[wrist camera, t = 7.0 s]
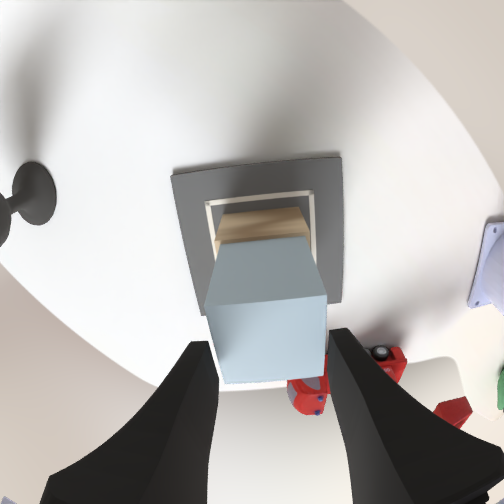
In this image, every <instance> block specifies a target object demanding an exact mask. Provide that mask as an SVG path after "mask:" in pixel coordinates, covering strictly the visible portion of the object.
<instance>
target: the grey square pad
mask: <svg viewBox="0 0 504 504" xmlns="http://www.w3.org/2000/svg"><path fill="white" fill-rule="evenodd" d="M170 178H171V183H172V188H173V194H174V199H175V204H176V209H177V214H178V219H179V224H180V228H181V233H182V238H183V242H184V247H185V251H186V255H187V260H188V264H189V268H190V273H191V277H192V281H193V285H194V289H195V293H196V297H197V301H198V305H199V309H200V313H201V316H206V313H205V309H204V304H205V300H206V296H207V293H208V289H209V285H210V281H211V277H212V273H213V269H214V265H215V262H216V258H217V254H216V249H215V243H214V240H215V237H216V234H217V231H218V228H219V225H220V221H221V218H222V215H223V214H231V213H240V212H249V211H259V210H269V209H279V208H289V207H299V209H300V211H301V213H302V215H303V217H304V220H305V222H306V224H307V226H308V228H309V231H310V248H311V253H312V255H313V258H314V261H315V263H316V266H317V269H318V271H319V274H320V277H321V279H322V282H323V285H324V288H325V290H326V293H327V304H334V303H341V300H342V278H343V177H342V158H341V157H329V158H312V159H298V160H286V161H275V162H265V163H255V164H246V165H238V166H230V167H222V168H215V169H208V170H201V171H194V172H188V173H182V174H176V175H171V176H170Z"/></svg>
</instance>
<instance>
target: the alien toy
mask: <svg viewBox="0 0 504 504" xmlns="http://www.w3.org/2000/svg"><path fill="white" fill-rule="evenodd" d="M497 390H498V405H497V407H498V409H499V410H503V412H504V370H503V371H502V373H501V375H500V377H499V380H498V385H497Z"/></svg>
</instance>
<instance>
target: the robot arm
mask: <svg viewBox="0 0 504 504" xmlns="http://www.w3.org/2000/svg"><path fill="white" fill-rule="evenodd" d="M490 303H492V304H493V305H494V306H495V307H496V308H497V309H498V310H499V311H500V312H501V313H502V315H503V316H504V222H495V223H488V224H487V225H486V227H485V232H484V238H483V243H482V249H481V253H480V258H479V263H478V267H477V271H476V275H475V279H474V283H473V287H472V291H471V294H470V298H469V301H468V307H469V308H470V309H472V308H476V307H480V306H483V305H487V304H490ZM327 375H328V381H329V387H330V393H331V397H332V401H333V404H334V407H335V411H336V414H337V418H338V422H339V425H340V429H341V432H342V436H343V440H344V443H345V447H346V452H347V457H348V464H349V471H350V479H351V489H352V498H353V504H486V503H485V502H487V501H488V500H489V496H488V493H487V491H488V490H490V489H491V488H492V487H494V486H495V485H496V484H498V483H499V482H500V481H502V480H503V479H504V453H503V451H502V449H501V448H500V447H499V446H496V445H494V444H491V443H488V442H486V441H484V440H481V439H478V438H476V437H474V436H472V435H470V434H468V433H466V432H464V431H462V430H460V429H458V428H457V427H455V426H453V425H452V424H450V423H449V422H447V421H445V420H444V419H442V418H440V417H439V416H437V415H436V414H434V413H433V412H431V411H430V410H429V409H427V408H426V407H425V406H423V405H422V404H421V403H419V402H418V401H417V400H416V399H414V398H413V397H412V396H411V395H409V394H408V393H407V392H406V391H405V390H404V389H403V388H402V387H401V386H399V385H398V384H397V383H396V382H395V381H394V380H393V379H392V378H391V377H390V376H389V375H388V374H387V373H386V372H385V371H384V370H383V369H382V368H381V366H380V365H379V364H378V363H377V362H376V361H375V360H374V359H373V358H372V357H371V356H370V354H369V353H368V352H367V351H366V350H365V349H364V347H363V346H362V345H361V344H360V343H359V341H358V340H357V339H356V338H355V336H354V335H353V334H352V333H351V331H350V330H349V329H348V328H341V329H333V330H329V343H328V359H327ZM218 394H219V377H218V374H217V370H216V367H215V364H214V360H213V357H212V353H211V350H210V346H209V343H208V341H191V342H190V343H189V344H188V346H187V347H186V349H185V350H184V352H183V353H182V355H181V356H180V358H179V359H178V361H177V362H176V364H175V365H174V367H173V368H172V369H171V371H170V372H169V374H168V375H167V376H166V378H165V379H164V380H163V382H162V383H161V384H160V386H159V387H158V388H157V390H156V391H155V392H154V393H153V395H152V396H151V397H150V398H149V399H148V401H147V402H146V403H145V404H144V405H143V407H142V408H141V409H140V410H139V411H138V412H137V413H136V414H135V415H134V416H133V418H131V419H130V420H129V421H128V422H127V423H126V424H125V425H124V426H123V427H122V428H121V429H120V430H119V431H118V432H116V433H115V434H114V435H113V436H112V437H111V438H110V439H108V440H107V441H106V442H105V443H103V444H102V445H101V446H99V447H98V448H97V449H95V450H94V451H92V452H91V453H89V454H88V455H87V456H85V457H84V458H82V459H81V460H79V461H77V462H76V463H74V464H72V465H70V466H68V467H67V468H65V469H63V470H61V471H59V472H57V473H55V474H53V475H50V476H49V479H48V481H47V484H46V487H45V490H44V492H43V495H42V498H41V501H40V504H207V482H208V463H209V455H210V449H211V442H212V437H213V431H214V425H215V420H216V413H217V407H218ZM1 504H16V503H15V502H13V501H12V500H10V499H9V498H7V497H3V500H2V502H1ZM496 504H504V498H503V499H502V500H500V501H499V502H498V503H496Z"/></svg>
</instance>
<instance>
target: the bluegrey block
mask: <svg viewBox="0 0 504 504" xmlns="http://www.w3.org/2000/svg"><path fill="white" fill-rule="evenodd" d="M204 309H205V313H206V317H207V320H208V324H209V328H210V332H211V336H212V340H213V343H214V347H215V351H216V354H217V358H218V362H219V365H220V369H221V372H222V376H223V379H224V383H225V384H239V383H257V382H270V381H282V380H292V379H301V378H310V377H318V376H323V375H324V360H325V342H326V318H327V293H326V290H325V288H324V285H323V282H322V279H321V277H320V274H319V271H318V269H317V266H316V263H315V261H314V258H313V255H312V253H311V250H310V248H309V245H308V242H307V240H306V237H305V236H297V237H287V238H277V239H267V240H257V241H247V242H237V243H228V244H220V247H219V250H218V254H217V258H216V262H215V265H214V269H213V273H212V277H211V281H210V285H209V289H208V293H207V296H206V300H205V304H204Z"/></svg>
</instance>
